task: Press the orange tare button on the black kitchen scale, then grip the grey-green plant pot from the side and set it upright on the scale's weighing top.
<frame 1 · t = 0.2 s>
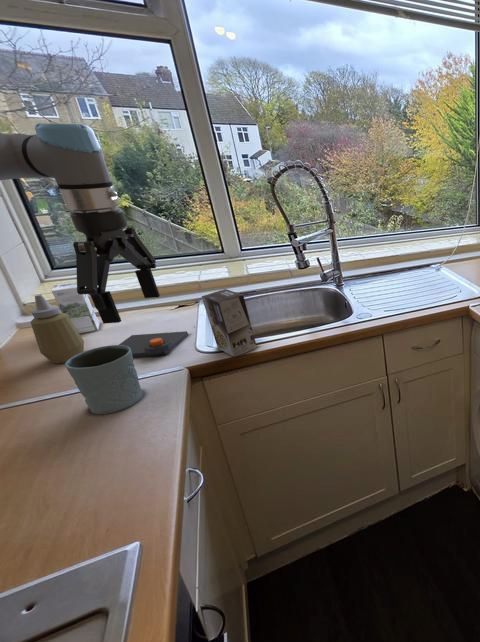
hand: (133, 309, 87), 21 cm above the worktop, tool pointing down, fingers open, 13 cm apart
tare button: (156, 342, 109), point 3 cm above the worktop, slide at 0.1 cm
squeeze bottle: (68, 358, 107), on the worktop
scale: (149, 347, 113), on the worktop
coffee box: (237, 348, 114), on the worktop
syrup box: (86, 330, 122), on the worktop
grey-green plant pot: (119, 402, 91), on the worktop
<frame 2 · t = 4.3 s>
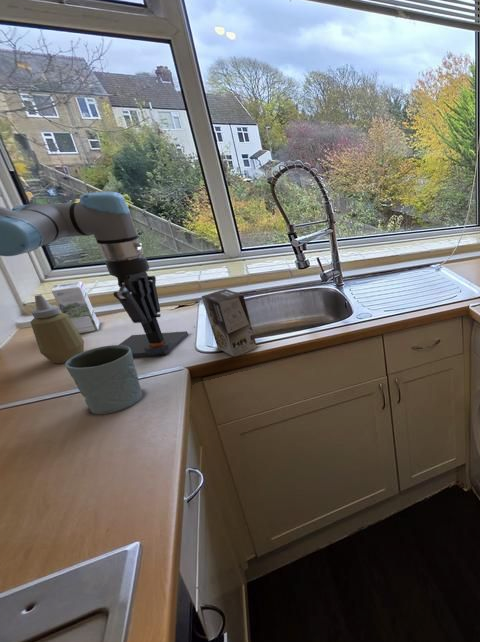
hand: (156, 341, 109), 4 cm above the worktop, tool pointing down, fingers closed
tare button: (157, 345, 109), point 3 cm above the worktop, slide at -0.6 cm, touching gripper
everything else where it was.
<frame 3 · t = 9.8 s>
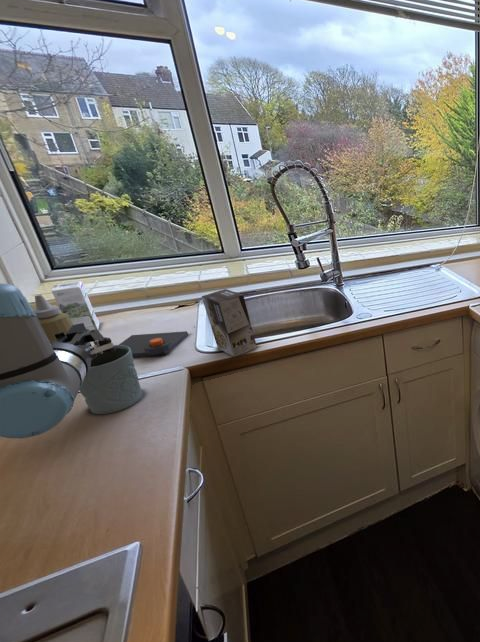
hand: (80, 330, 80), 20 cm above the worktop, tool horizontal, fingers closed
tare button: (156, 342, 109), point 3 cm above the worktop, slide at 0.1 cm
everything else where it was.
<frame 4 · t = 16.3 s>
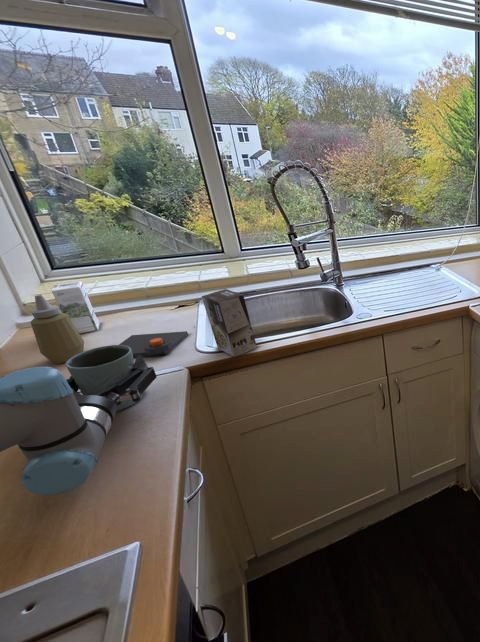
hand: (112, 366, 91), 7 cm above the worktop, tool horizontal, fingers closed on grey-green plant pot, 10 cm apart
grey-green plant pot: (119, 402, 91), on the worktop, touching gripper
everything else where it was.
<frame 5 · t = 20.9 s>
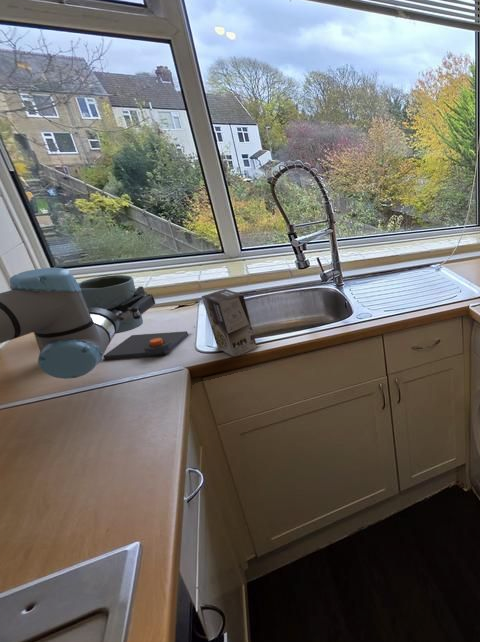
hand: (115, 294, 102), 18 cm above the worktop, tool horizontal, fingers closed on grey-green plant pot, 10 cm apart
grey-green plant pot: (122, 327, 101), point 11 cm above the worktop, touching gripper
everything else where it was.
when the fingers open (8 cm above the worktop, at t = 25.5 s): grey-green plant pot stays where it is, resting on scale.
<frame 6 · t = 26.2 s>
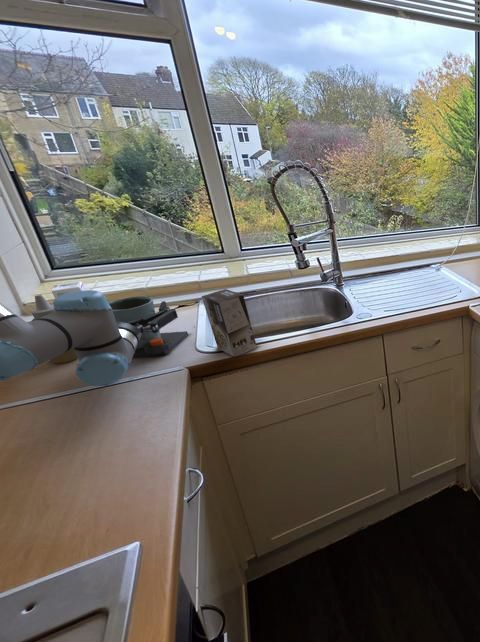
hand: (133, 310, 112), 10 cm above the worktop, tool horizontal, fingers open, 13 cm apart
grey-green plant pot: (143, 342, 113), point 1 cm above the worktop, touching scale
everything else where it was.
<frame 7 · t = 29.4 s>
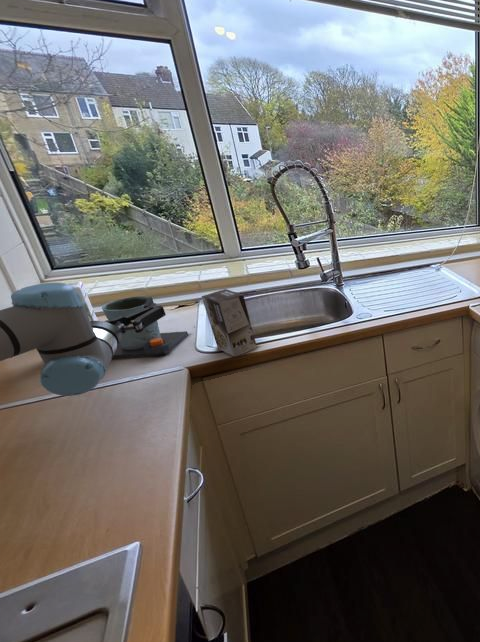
hand: (115, 307, 99), 16 cm above the worktop, tool horizontal, fingers open, 13 cm apart
nothing on the worktop moved.
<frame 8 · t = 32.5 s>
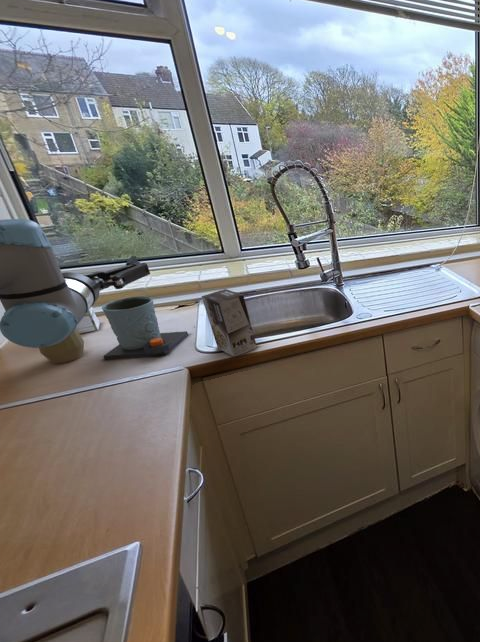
hand: (96, 265, 91), 28 cm above the worktop, tool horizontal, fingers open, 13 cm apart
nothing on the worktop moved.
at the end: tare button pushed in 0.8 cm at the most during the clip, back to where it started at the end; grey-green plant pot inside the target area on the scale (0.1 cm from its centre), point 1.2 cm above the scale's base; grey-green plant pot tilted 0° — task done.
